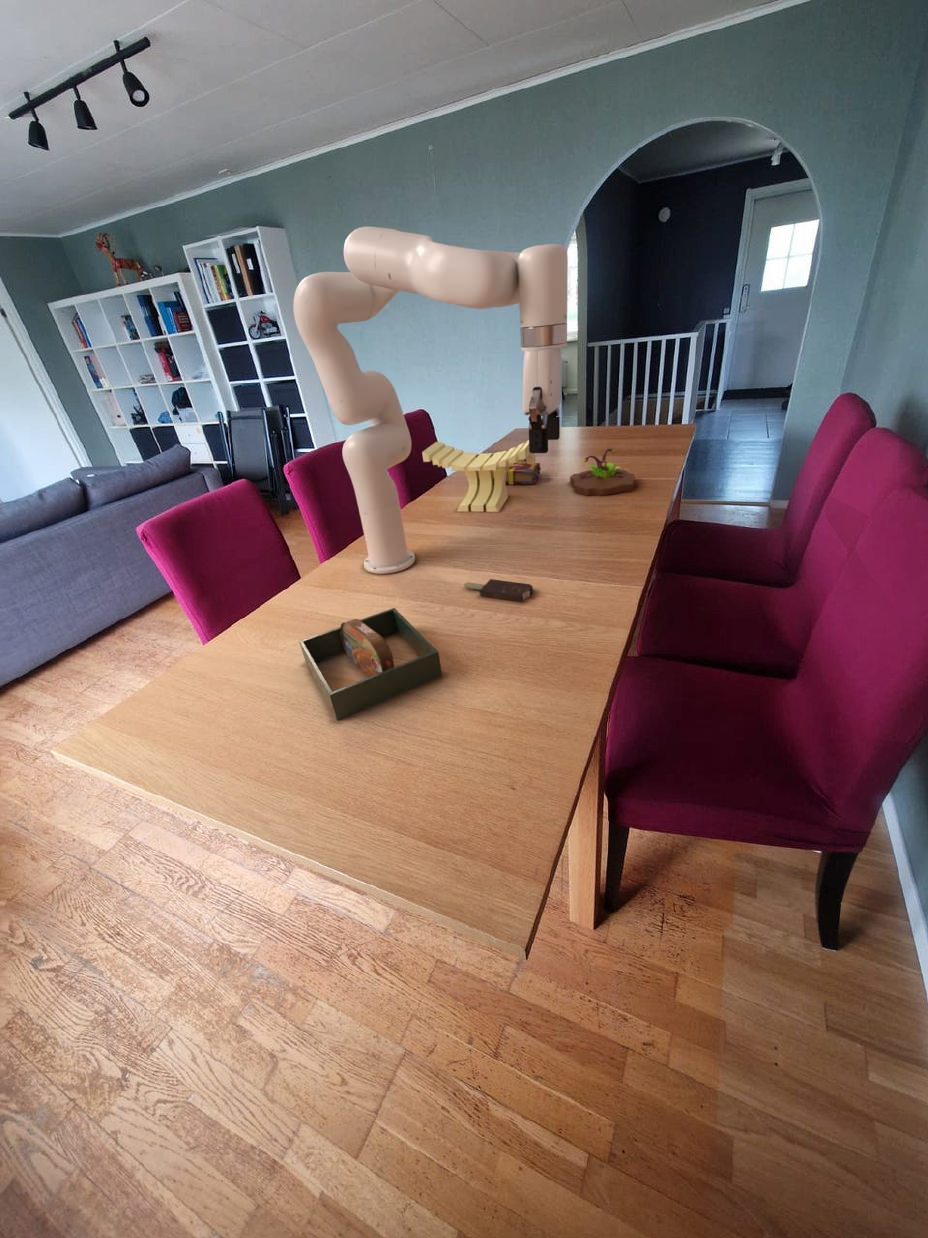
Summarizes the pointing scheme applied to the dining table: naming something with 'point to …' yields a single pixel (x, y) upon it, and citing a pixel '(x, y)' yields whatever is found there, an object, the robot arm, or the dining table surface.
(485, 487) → the slatted curved stool
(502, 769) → the dining table surface
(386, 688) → the box
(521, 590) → the ice cream bar
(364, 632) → the tin
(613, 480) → the plant
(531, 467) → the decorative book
